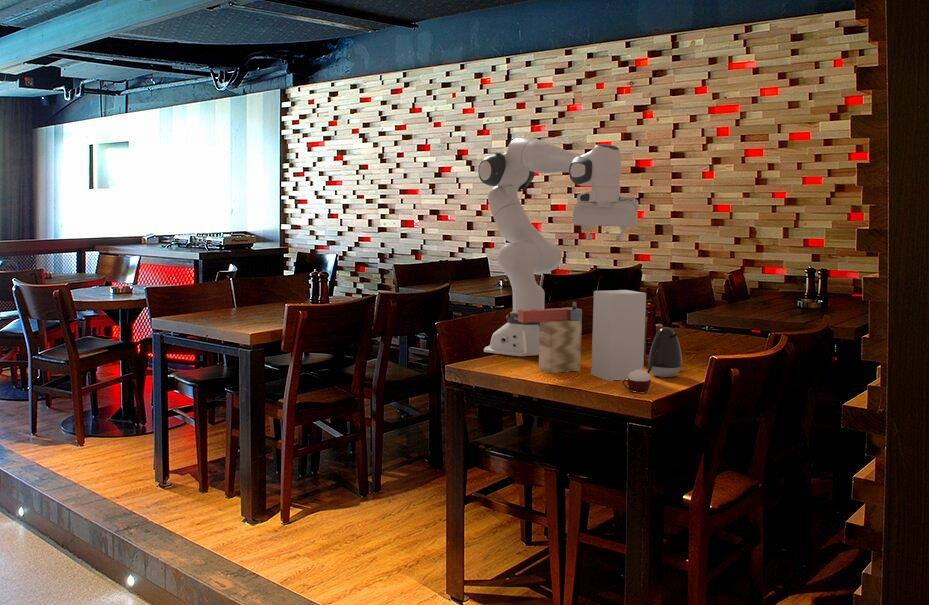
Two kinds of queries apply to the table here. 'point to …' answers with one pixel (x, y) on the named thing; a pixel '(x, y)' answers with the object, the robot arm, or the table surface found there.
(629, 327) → the tall grey pillar block
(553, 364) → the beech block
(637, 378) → the cocoa
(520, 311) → the pin spanner
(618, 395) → the table surface
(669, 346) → the grey rounded upright piece
